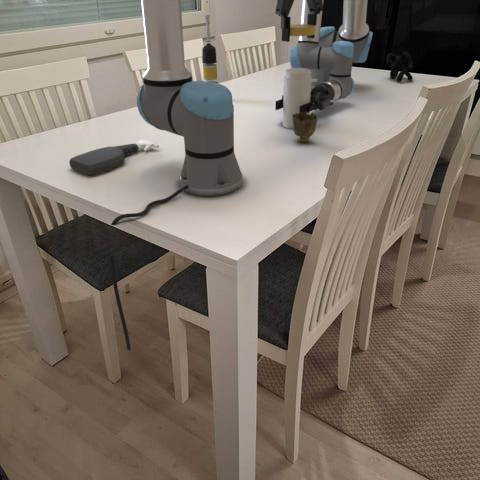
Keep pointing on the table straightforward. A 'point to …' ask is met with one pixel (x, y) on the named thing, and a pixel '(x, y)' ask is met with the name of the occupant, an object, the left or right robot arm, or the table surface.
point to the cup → (304, 125)
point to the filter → (209, 57)
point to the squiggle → (399, 66)
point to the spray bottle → (106, 157)
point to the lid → (302, 30)
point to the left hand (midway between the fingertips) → (298, 39)
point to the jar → (295, 93)
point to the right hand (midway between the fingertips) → (288, 108)
